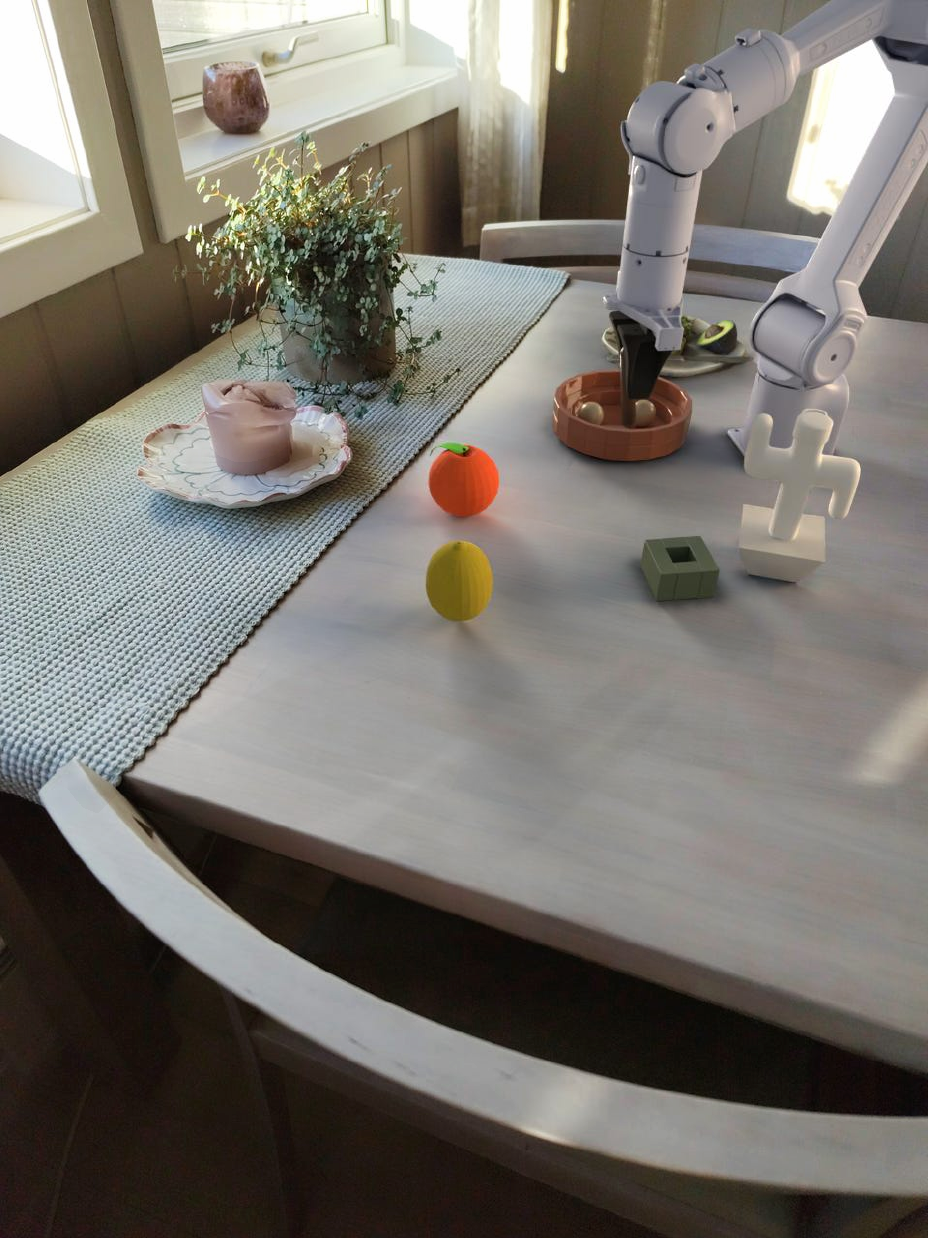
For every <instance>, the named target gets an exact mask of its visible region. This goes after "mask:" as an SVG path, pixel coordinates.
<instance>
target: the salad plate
mask: <svg viewBox="0 0 928 1238" xmlns="http://www.w3.org/2000/svg"><path fill="white" fill-rule="evenodd" d="M681 324H682V326H683V328H684V331H683V337H682V343H681V349H680V350H673V351H672V353H671V354H670V356H669V357H668V359H667V360H666V362H665V364H664V366H663V368H662V370H661V372H660V374H659V376H663V377H670V378H688V377H693V376H697V375H702V374H709V373H717V372H721V371H725V370H728V369H731V368H733V367H735V366H738V365H742V364H746V363H749V362H752V361H753V360H754V358H753V357H751V356H746V352H747V351H746V346H745V345H744V343H742V342H741V341H739V340H738V329H737V324H736V323H735V322H734V321H733V320H730V319H725V320H722V321H718V322H716V324H710V323H708V322H707V321H705V320H703V319H700V318H698V317H694V316H690V315H685V314H684V315H683V314H682V315H681ZM600 342H601V344H602V345H604V347H605V348H606V350H607V351H608V353H610V355H608V356H607V362H609V363H611V364H615V365H619V354H618V346H617V341H616V336H615V332H614V329H613V326H610V327H608V328H606V329H605V331H604V332H603V334H602V337H601V339H600Z"/></svg>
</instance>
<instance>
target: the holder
mask: <svg viewBox="0 0 928 1238" xmlns="http://www.w3.org/2000/svg"><path fill="white" fill-rule="evenodd" d="M642 548H643V549H642V555H641V560H640V568H641V572H643V575H644V577H645V579H646V581H647V583H648V586H649V588H650V590H651V592H652V595H653V597H654V599H655V601H656V602H663V601H677V600H690V599H691V600H692V599H704V598H706V599H707V598H714V596H715V592H716V588H717V584H718V579H719V575H720V571H721V570H720V568H719V565H718V564H717V563H716V561H715V559H714V557H713V556H712V554H711V552H710V550H709V548H708V547H707V545H706V543H705V541H704V540H703V538H702V536H701V535H692V536H691V535H690V536H679V537H678V536H677V537H663V538H650V539H645V540H644V541H643V547H642Z"/></svg>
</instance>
